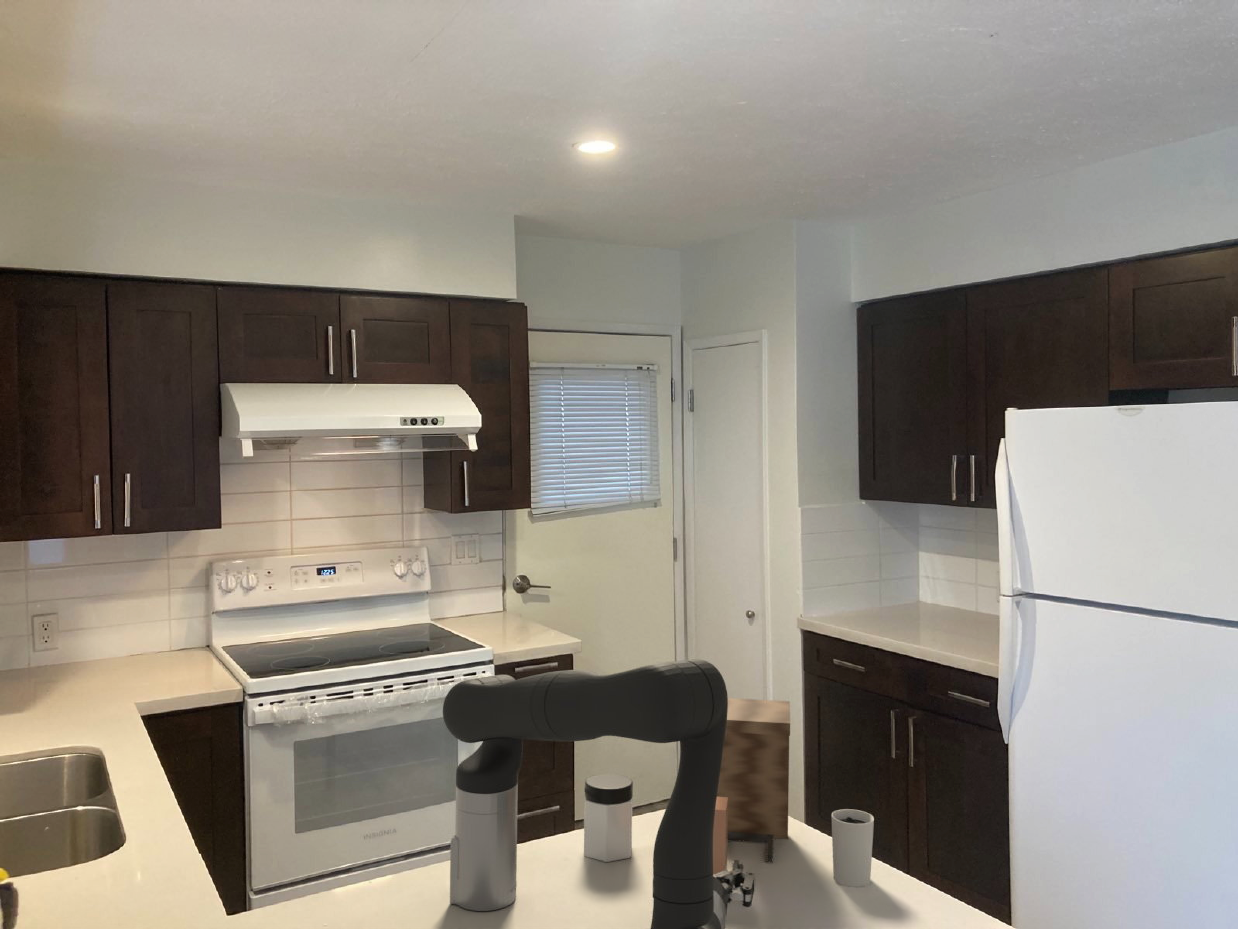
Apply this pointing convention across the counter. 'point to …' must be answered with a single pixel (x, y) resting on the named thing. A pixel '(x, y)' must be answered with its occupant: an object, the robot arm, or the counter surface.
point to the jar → (608, 817)
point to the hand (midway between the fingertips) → (707, 864)
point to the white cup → (852, 847)
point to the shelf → (756, 770)
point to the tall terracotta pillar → (720, 835)
